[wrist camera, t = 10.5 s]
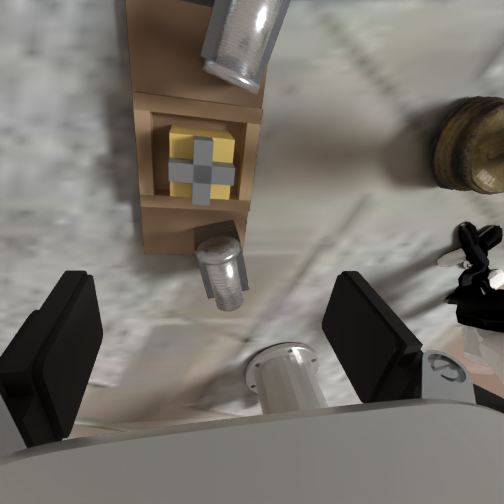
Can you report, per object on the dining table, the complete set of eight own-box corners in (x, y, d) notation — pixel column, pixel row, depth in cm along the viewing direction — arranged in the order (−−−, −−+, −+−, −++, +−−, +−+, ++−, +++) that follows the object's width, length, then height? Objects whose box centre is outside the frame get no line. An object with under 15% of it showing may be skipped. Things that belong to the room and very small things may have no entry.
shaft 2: (240, 259, 35) (255, 311, 27) (205, 266, 35) (210, 321, 27) (231, 209, 31) (245, 253, 24) (191, 217, 31) (193, 264, 23)
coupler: (228, 131, 26) (237, 144, 21) (223, 183, 29) (231, 206, 24) (172, 124, 25) (168, 136, 20) (172, 180, 27) (169, 203, 22)
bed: (241, 250, 34) (244, 263, 32) (145, 249, 32) (141, 262, 30) (270, 21, 23) (279, 15, 21) (127, -8, 21) (119, -19, 18)
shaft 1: (221, -30, 21) (240, -91, 13) (273, 2, 23) (317, -36, 15) (195, 69, 24) (198, 66, 16) (242, 91, 26) (266, 98, 18)
